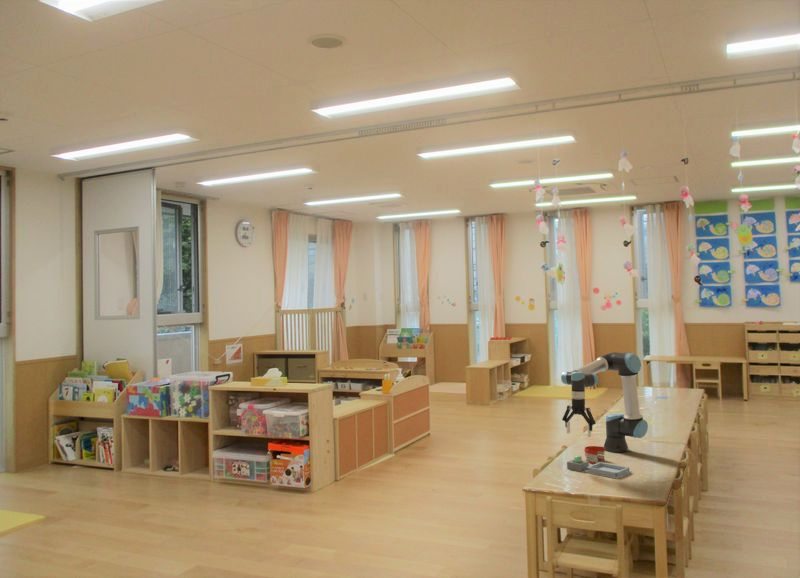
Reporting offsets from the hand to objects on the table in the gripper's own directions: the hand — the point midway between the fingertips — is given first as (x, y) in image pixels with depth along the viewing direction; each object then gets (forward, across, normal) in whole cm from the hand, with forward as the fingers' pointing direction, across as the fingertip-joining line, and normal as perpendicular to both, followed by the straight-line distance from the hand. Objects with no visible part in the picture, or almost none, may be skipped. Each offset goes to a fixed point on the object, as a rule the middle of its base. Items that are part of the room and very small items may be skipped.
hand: (578, 434), depth 368 cm
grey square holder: (+20, -1, 0) cm, 20 cm away
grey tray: (+20, +16, +3) cm, 26 cm away
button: (+17, -1, 0) cm, 17 cm away
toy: (+20, -2, +22) cm, 29 cm away
